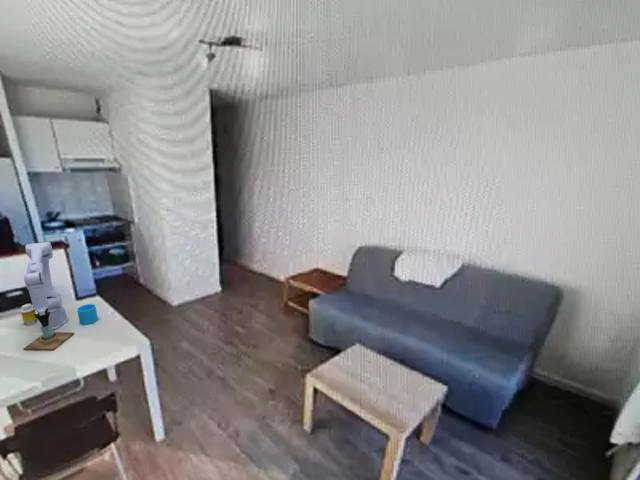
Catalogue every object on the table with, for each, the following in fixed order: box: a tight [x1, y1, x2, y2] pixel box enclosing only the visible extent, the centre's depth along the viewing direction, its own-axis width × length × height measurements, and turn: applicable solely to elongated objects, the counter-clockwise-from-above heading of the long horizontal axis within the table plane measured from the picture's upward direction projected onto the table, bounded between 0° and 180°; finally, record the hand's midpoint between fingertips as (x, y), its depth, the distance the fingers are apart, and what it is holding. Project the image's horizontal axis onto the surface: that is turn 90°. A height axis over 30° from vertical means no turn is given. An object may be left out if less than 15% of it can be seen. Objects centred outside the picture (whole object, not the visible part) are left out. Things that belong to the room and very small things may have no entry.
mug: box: [76, 303, 99, 326], centre depth 189 cm, size 12×8×8 cm
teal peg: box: [41, 325, 54, 340], centre depth 169 cm, size 4×4×7 cm
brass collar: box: [39, 333, 58, 344], centre depth 170 cm, size 7×7×2 cm
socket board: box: [23, 331, 75, 352], centre depth 170 cm, size 14×14×1 cm
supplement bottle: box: [20, 303, 38, 326], centre depth 185 cm, size 6×6×10 cm
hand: (45, 322), depth 167 cm, fingers open, 7 cm apart
